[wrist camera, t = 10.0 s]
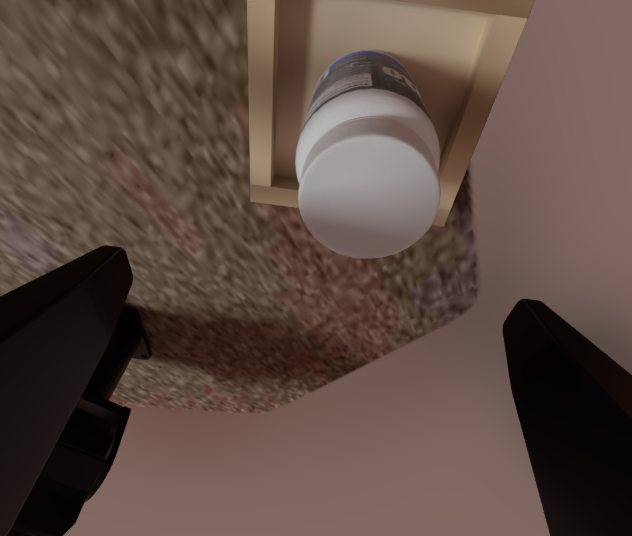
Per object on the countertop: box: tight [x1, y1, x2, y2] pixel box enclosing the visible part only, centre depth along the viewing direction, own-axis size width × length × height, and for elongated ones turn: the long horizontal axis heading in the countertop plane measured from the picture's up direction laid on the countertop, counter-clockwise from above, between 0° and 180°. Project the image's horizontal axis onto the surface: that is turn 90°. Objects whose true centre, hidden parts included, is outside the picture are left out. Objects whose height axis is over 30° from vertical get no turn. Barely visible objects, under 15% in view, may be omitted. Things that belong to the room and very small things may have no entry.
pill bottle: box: [295, 50, 441, 258], centre depth 13 cm, size 5×5×8 cm
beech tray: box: [247, 0, 535, 227], centre depth 17 cm, size 10×10×3 cm
